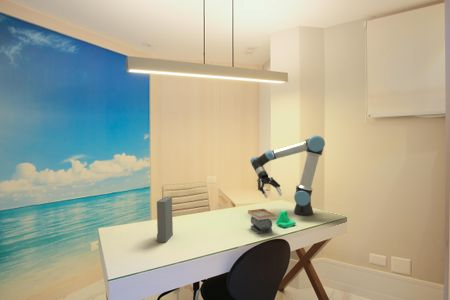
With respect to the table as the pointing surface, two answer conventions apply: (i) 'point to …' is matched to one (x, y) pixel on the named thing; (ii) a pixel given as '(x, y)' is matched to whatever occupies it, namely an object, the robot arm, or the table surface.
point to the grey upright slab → (164, 219)
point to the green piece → (284, 220)
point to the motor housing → (261, 220)
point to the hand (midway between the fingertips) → (274, 196)
